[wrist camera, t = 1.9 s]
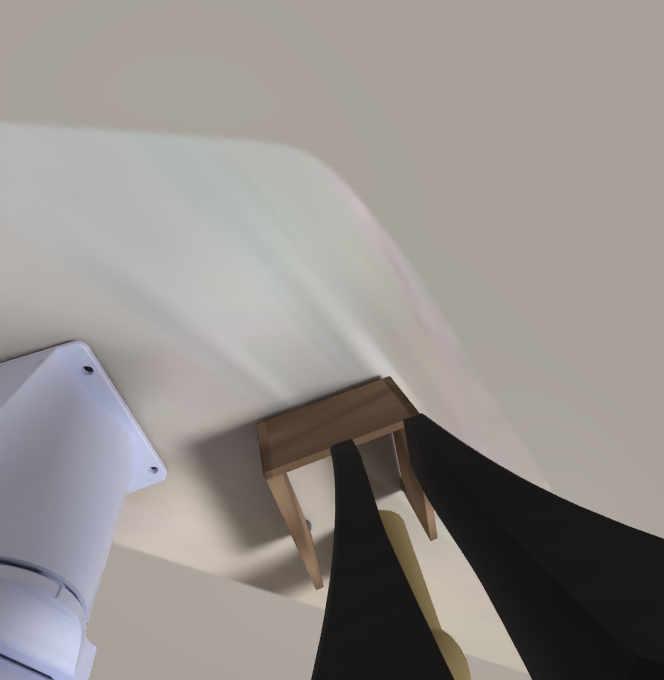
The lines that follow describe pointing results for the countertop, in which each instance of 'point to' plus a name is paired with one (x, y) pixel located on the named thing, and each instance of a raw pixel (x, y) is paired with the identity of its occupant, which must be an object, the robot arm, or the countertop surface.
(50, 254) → the countertop surface
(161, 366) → the countertop surface
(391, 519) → the cork
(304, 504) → the countertop surface
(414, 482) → the wooden bracket shelf
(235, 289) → the countertop surface
